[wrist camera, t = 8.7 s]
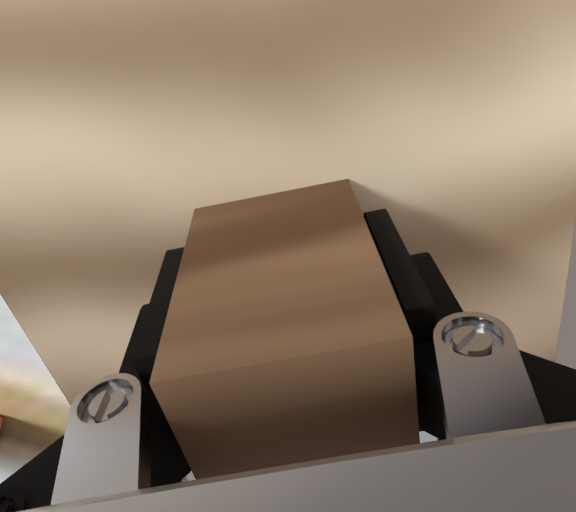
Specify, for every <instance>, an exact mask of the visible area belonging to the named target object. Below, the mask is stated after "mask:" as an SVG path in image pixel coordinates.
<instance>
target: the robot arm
mask: <svg viewBox="0 0 576 512" xmlns="http://www.w3.org/2000/svg"><path fill="white" fill-rule="evenodd" d="M364 219H365V222H366V224H367V226H368V229H369V231H370V234H371V236H372V239H373V241H374V243H375V246H376V248H377V251H378V253H379V256H380V258H381V261H382V263H383V265H384V268H385V270H386V273H387V275H388V278H389V280H390V283H391V285H392V287H393V290H394V292H395V295H396V297H397V300H398V302H399V305H400V307H401V309H402V312H403V314H404V317H405V319H406V322H407V324H408V326H409V329H410V331H411V334H412V336H413V350H414V364H415V379H416V394H417V409H418V424H419V431H426V432H427V433H429V434H431V435H433V436H435V437H437V441H431V442H425V443H419V444H413V445H406V446H400V447H394V448H387V449H381V450H375V451H368V452H362V453H356V454H350V455H344V456H337V457H331V458H325V459H319V460H313V461H307V462H301V463H295V464H289V465H282V466H276V467H270V468H264V469H258V470H252V471H246V472H240V473H234V474H228V475H222V476H216V477H210V478H204V479H198V480H192V481H188V480H187V476H186V475H187V474H188V473H189V472H190V471H191V468H190V466H189V464H188V462H187V460H186V458H185V456H184V454H183V452H182V450H181V448H180V446H179V443H178V441H177V439H176V437H175V435H174V433H173V431H172V429H171V427H170V425H169V423H168V421H167V419H166V417H165V415H164V413H163V411H162V408H161V406H160V404H159V402H158V400H157V398H156V396H155V394H154V392H153V390H152V388H151V386H150V384H149V382H150V378H151V374H152V370H153V367H154V363H155V359H156V355H157V351H158V347H159V343H160V340H161V336H162V332H163V328H164V324H165V320H166V317H167V313H168V309H169V305H170V301H171V297H172V293H173V290H174V286H175V282H176V278H177V274H178V270H179V267H180V263H181V259H182V255H183V251H184V247H181V248H176V249H171V250H167V251H166V253H165V256H164V259H163V262H162V265H161V268H160V272H159V275H158V278H157V281H156V284H155V287H154V290H153V293H152V297H151V300H150V303H149V304H145V305H143V306H142V307H141V309H140V311H139V314H138V317H137V320H136V323H135V326H134V329H133V332H132V335H131V338H130V341H129V344H128V346H127V349H126V352H125V355H124V358H123V361H122V364H121V367H120V370H119V373H117V374H112V375H107V376H105V377H103V378H100V379H98V380H96V381H95V382H93V383H91V384H90V385H88V386H87V387H86V388H85V389H84V390H83V391H81V392H80V393H79V394H78V396H77V397H76V399H75V400H74V401H73V403H72V405H71V408H70V410H69V415H68V420H67V425H66V430H65V434H64V435H63V436H62V437H60V438H59V439H58V440H57V441H55V442H54V443H53V444H51V445H50V446H49V447H48V448H46V449H45V450H44V451H42V452H41V453H40V454H38V455H37V456H36V457H35V458H33V459H32V460H31V461H29V462H28V463H27V464H25V465H24V466H23V467H22V468H20V469H19V470H18V471H16V472H15V473H14V474H13V475H11V476H10V477H9V478H7V479H6V480H5V481H3V482H2V483H1V484H0V512H576V370H575V369H572V368H569V367H567V366H564V365H561V364H558V363H555V362H552V361H550V360H547V359H544V358H541V357H538V356H535V355H533V354H530V353H527V352H524V351H521V350H519V349H518V347H517V344H516V341H515V339H514V336H513V333H512V332H511V330H510V329H509V327H508V326H507V325H506V324H505V323H504V322H502V321H501V320H500V319H498V318H496V317H494V316H491V315H489V314H485V313H481V312H469V311H465V312H464V311H463V310H462V308H461V306H460V304H459V303H458V301H457V299H456V298H455V296H454V294H453V292H452V291H451V289H450V287H449V286H448V284H447V282H446V280H445V279H444V277H443V275H442V274H441V272H440V270H439V268H438V267H437V265H436V263H435V262H434V260H433V258H432V256H431V255H430V254H429V253H428V252H423V253H418V254H413V255H410V254H409V253H408V251H407V249H406V247H405V245H404V243H403V241H402V239H401V237H400V235H399V233H398V231H397V229H396V227H395V225H394V223H393V221H392V219H391V217H390V215H389V213H388V211H387V210H386V208H385V209H379V210H374V211H369V212H364Z"/></svg>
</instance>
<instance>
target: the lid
mask: <svg viewBox="0 0 576 512" xmlns="http://www.w3.org/2000/svg"><path fill="white" fill-rule="evenodd" d="M385 208H386V210H387V211H388V213H389V215H390V217H391V219H392V221H393V223H394V225H395V227H396V229H397V231H398V233H399V235H400V237H401V239H402V241H403V243H404V245H405V247H406V249H407V251H408V253H409V254H410V255H413V254H418V253H423V252H428V253H429V254H430V255H431V256H432V258H433V260H434V262H435V263H436V265H437V267H438V268H439V270H440V272H441V274H442V275H443V277H444V279H445V280H446V282H447V284H448V286H449V287H450V289H451V291H452V292H453V294H454V296H455V298H456V299H457V301H458V303H459V304H460V306H461V308H462V310H463V311H464V312H465V311H469V312H481V313H485V314H489V315H491V316H494V317H496V318H498V319H500V320H501V321H502V322H504V323H505V324H506V325H507V326H508V327H509V329H510V330H511V332H512V333H513V336H514V339H515V341H516V344H517V347H518V349H519V350H521V351H524V352H527V353H530V354H533V355H535V356H538V357H541V358H544V359H547V360H550V361H552V362H555V359H556V352H557V345H558V338H559V332H560V324H561V318H562V311H563V303H564V297H565V290H566V283H567V276H568V269H569V263H570V256H571V249H572V243H573V235H574V229H575V222H576V0H0V294H1V296H2V297H3V299H4V300H5V302H6V304H7V305H8V307H9V308H10V310H11V311H12V313H13V315H14V316H15V318H16V319H17V321H18V323H19V324H20V326H21V327H22V329H23V331H24V332H25V334H26V335H27V337H28V338H29V340H30V342H31V343H32V345H33V346H34V348H35V350H36V351H37V353H38V354H39V356H40V357H41V359H42V361H43V362H44V364H45V365H46V367H47V369H48V370H49V372H50V373H51V375H52V377H53V378H54V380H55V381H56V383H57V384H58V386H59V388H60V389H61V391H62V392H63V394H64V396H65V397H66V399H67V400H68V402H69V404H70V405H72V403H73V401H74V400H75V399H76V397H77V396H78V394H79V393H80V392H81V391H83V390H84V389H85V388H86V387H87V386H88V385H90V384H91V383H93V382H95V381H96V380H98V379H100V378H103V377H105V376H107V375H112V374H117V373H119V370H120V367H121V364H122V361H123V358H124V355H125V352H126V349H127V346H128V344H129V341H130V338H131V335H132V332H133V329H134V326H135V323H136V320H137V317H138V314H139V311H140V309H141V307H142V306H143V305H145V304H149V303H150V300H151V297H152V293H153V290H154V287H155V284H156V281H157V278H158V275H159V272H160V268H161V265H162V262H163V259H164V256H165V253H166V251H167V250H171V249H176V248H181V247H184V251H183V255H182V259H181V263H180V267H179V270H178V274H177V278H176V282H175V286H174V290H173V293H172V297H171V301H170V305H169V309H168V313H167V317H166V320H165V324H164V328H163V332H162V336H161V340H160V343H159V347H158V351H157V355H156V359H155V363H154V367H153V370H152V374H151V378H150V382H149V384H150V386H151V388H152V390H153V392H154V394H155V396H156V398H157V400H158V402H159V404H160V406H161V408H162V411H163V413H164V415H165V417H166V419H167V421H168V423H169V425H170V427H171V429H172V431H173V433H174V435H175V437H176V439H177V441H178V443H179V446H180V448H181V450H182V452H183V454H184V456H185V458H186V460H187V462H188V464H189V466H190V468H191V470H192V472H193V474H194V476H195V479H196V480H198V479H204V478H210V477H216V476H222V475H228V474H234V473H240V472H246V471H252V470H258V469H264V468H270V467H276V466H282V465H289V464H295V463H301V462H307V461H313V460H319V459H325V458H331V457H337V456H344V455H350V454H356V453H362V452H368V451H375V450H381V449H387V448H394V447H400V446H406V445H413V444H419V443H420V439H419V424H418V409H417V394H416V379H415V364H414V350H413V336H412V334H411V331H410V329H409V326H408V324H407V322H406V319H405V317H404V314H403V312H402V309H401V307H400V305H399V302H398V300H397V297H396V295H395V292H394V290H393V287H392V285H391V283H390V280H389V278H388V275H387V273H386V270H385V268H384V265H383V263H382V261H381V258H380V256H379V253H378V251H377V248H376V246H375V243H374V241H373V239H372V236H371V234H370V231H369V229H368V226H367V224H366V222H365V219H364V212H369V211H374V210H379V209H385Z"/></svg>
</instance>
